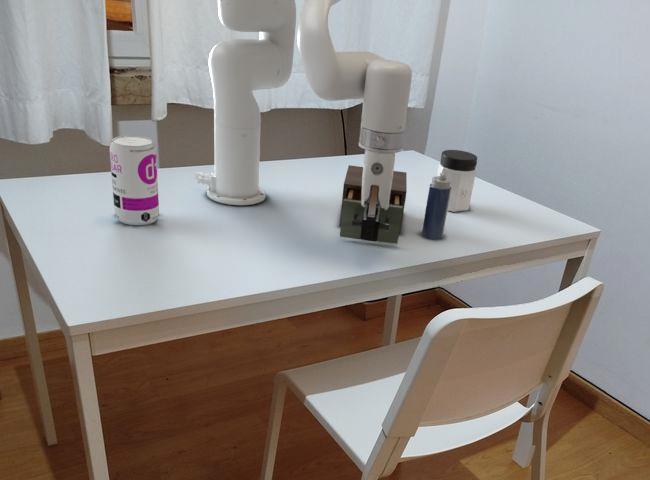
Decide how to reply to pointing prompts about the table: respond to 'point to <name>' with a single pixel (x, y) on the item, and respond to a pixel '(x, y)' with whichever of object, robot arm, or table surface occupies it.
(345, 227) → the drawer
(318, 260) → the table surface
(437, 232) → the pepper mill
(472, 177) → the jar
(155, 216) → the supplement can
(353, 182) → the cabinet
